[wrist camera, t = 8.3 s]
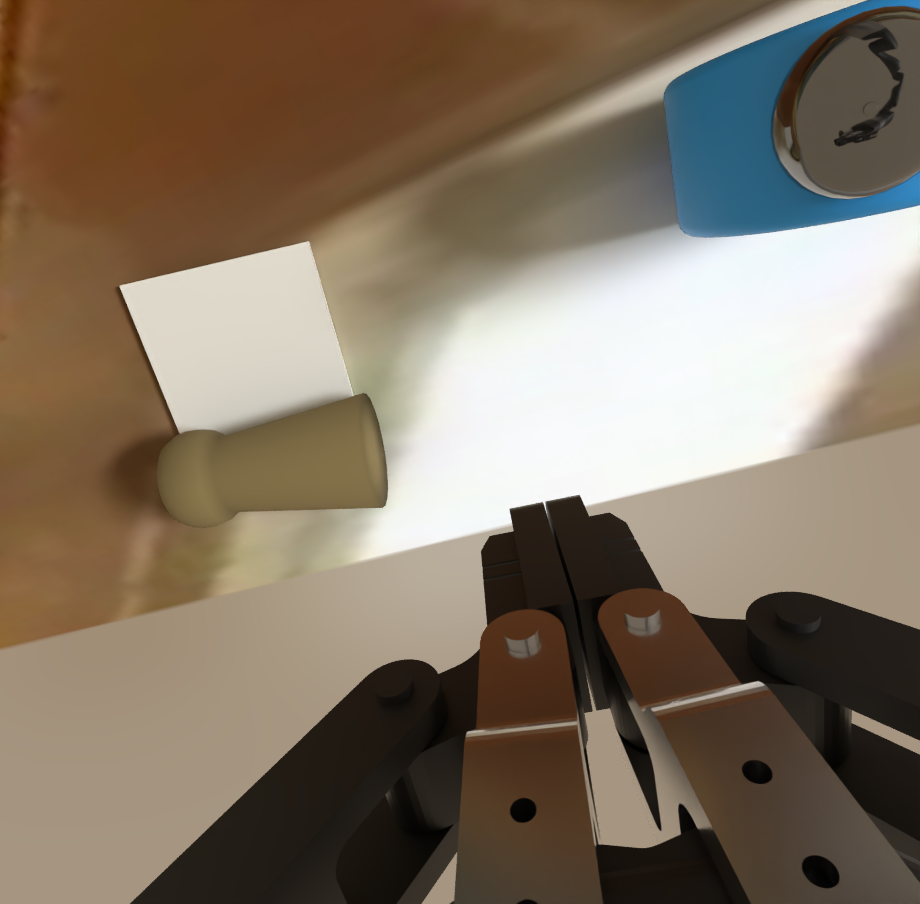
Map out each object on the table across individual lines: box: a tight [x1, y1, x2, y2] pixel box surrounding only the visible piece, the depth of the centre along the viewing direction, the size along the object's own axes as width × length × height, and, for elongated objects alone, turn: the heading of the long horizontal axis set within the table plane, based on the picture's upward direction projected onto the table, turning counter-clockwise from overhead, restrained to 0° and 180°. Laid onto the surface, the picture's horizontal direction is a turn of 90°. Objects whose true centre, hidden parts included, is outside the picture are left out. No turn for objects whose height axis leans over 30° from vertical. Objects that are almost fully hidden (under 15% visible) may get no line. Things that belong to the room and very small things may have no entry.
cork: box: [157, 393, 388, 528], centre depth 32 cm, size 6×6×11 cm
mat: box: [120, 241, 354, 435], centre depth 33 cm, size 12×10×1 cm
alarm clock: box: [664, 0, 920, 238], centre depth 23 cm, size 13×6×15 cm, turn 104°
